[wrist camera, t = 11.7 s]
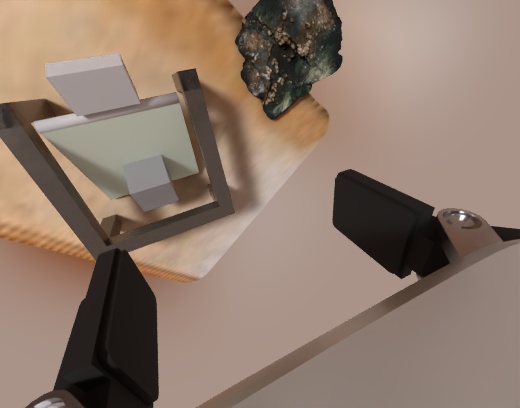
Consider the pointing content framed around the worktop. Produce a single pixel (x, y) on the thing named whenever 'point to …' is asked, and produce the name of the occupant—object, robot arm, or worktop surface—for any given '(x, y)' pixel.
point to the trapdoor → (114, 123)
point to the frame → (70, 202)
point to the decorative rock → (288, 49)
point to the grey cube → (150, 183)
